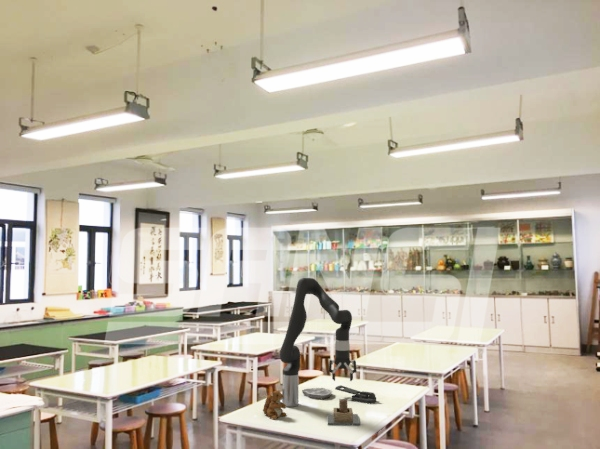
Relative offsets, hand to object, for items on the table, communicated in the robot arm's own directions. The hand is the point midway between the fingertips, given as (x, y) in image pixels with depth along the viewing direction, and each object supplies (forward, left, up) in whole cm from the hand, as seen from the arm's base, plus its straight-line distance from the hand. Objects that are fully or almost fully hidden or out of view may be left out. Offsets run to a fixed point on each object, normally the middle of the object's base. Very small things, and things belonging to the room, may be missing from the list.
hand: (342, 380), depth 247 cm
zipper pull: (+10, +41, -20) cm, 47 cm away
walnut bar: (0, 0, -19) cm, 19 cm away
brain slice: (-13, +51, -20) cm, 56 cm away
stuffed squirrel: (-37, +7, -20) cm, 43 cm away
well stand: (0, 0, -20) cm, 20 cm away
